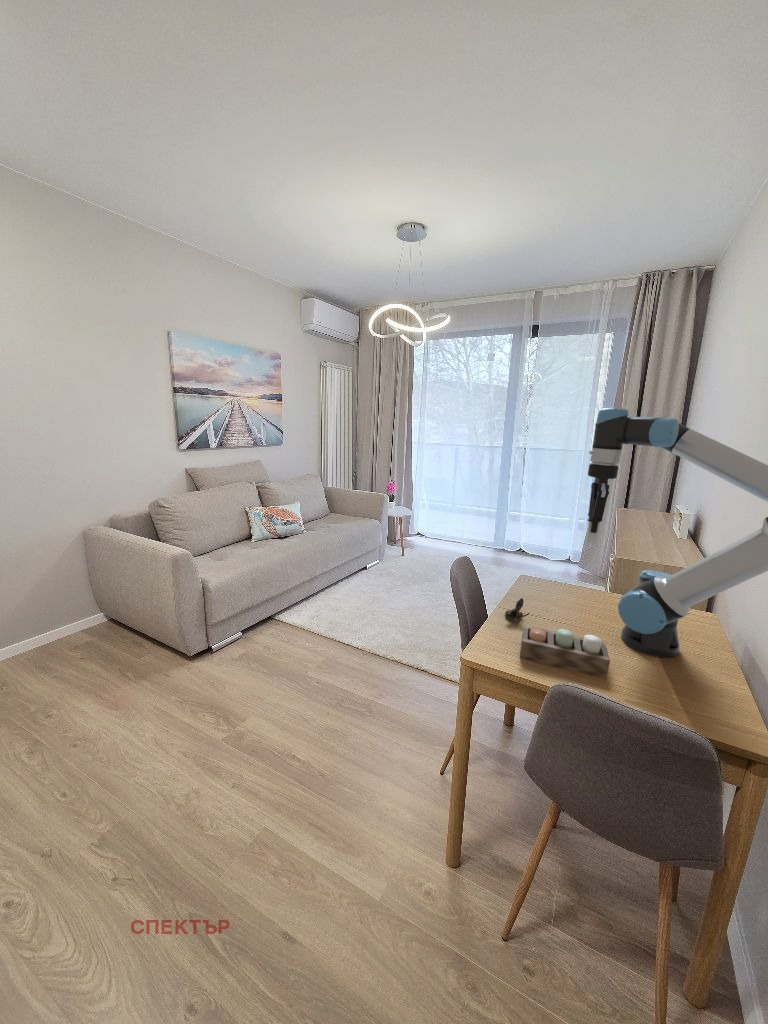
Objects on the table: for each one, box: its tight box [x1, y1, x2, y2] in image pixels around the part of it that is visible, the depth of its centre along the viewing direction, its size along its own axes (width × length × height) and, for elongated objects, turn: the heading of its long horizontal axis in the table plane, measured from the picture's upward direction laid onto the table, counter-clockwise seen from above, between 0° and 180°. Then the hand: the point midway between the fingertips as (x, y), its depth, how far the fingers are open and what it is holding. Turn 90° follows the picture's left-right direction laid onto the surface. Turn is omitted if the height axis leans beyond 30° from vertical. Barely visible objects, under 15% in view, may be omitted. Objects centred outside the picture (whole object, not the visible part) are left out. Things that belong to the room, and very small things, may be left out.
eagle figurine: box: [505, 597, 530, 625], centre depth 140 cm, size 8×7×9 cm
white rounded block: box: [582, 634, 603, 655], centre depth 114 cm, size 4×4×5 cm
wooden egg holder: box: [519, 624, 611, 680], centre depth 117 cm, size 22×10×6 cm, turn 69°
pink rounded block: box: [529, 628, 546, 643], centre depth 119 cm, size 4×4×5 cm
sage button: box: [555, 628, 575, 649], centre depth 116 cm, size 4×4×5 cm
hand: (590, 542), depth 124 cm, fingers closed
